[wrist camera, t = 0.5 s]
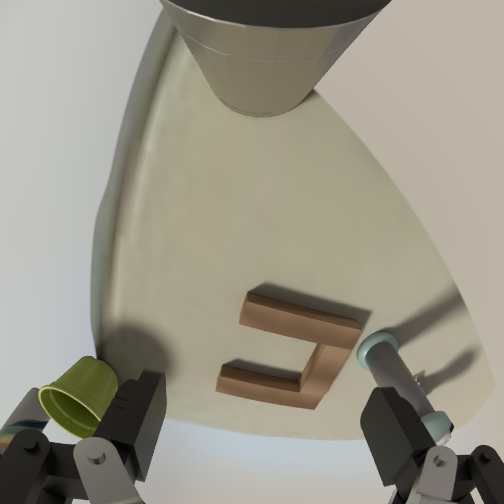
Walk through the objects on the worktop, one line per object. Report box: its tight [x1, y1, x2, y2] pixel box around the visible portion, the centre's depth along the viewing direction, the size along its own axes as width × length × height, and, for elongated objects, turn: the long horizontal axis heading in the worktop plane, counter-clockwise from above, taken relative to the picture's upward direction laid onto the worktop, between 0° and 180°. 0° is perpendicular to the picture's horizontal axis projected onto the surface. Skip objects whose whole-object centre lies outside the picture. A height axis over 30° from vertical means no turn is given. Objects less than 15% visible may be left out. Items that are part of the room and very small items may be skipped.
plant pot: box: [38, 356, 118, 440], centre depth 27 cm, size 9×9×9 cm
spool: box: [357, 331, 451, 443], centre depth 23 cm, size 5×5×14 cm
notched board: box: [216, 292, 362, 410], centre depth 29 cm, size 12×12×2 cm
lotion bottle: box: [0, 388, 51, 459], centre depth 25 cm, size 6×6×20 cm
